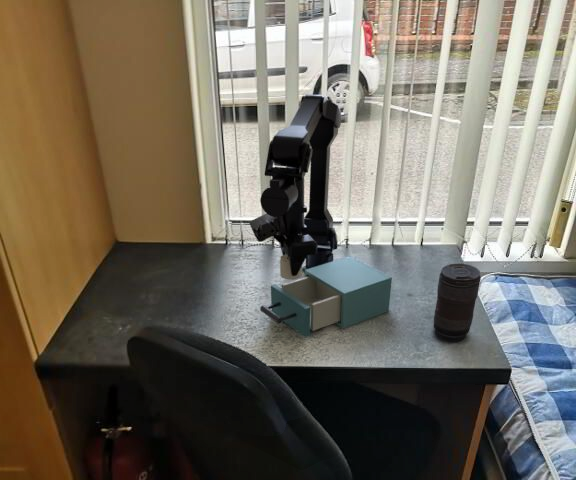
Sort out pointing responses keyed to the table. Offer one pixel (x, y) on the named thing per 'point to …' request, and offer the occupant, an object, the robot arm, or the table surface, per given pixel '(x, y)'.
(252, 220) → the robot arm
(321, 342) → the table surface
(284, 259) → the label roll
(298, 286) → the drawer
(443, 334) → the camera lens
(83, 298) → the table surface
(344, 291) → the teal cabinet
